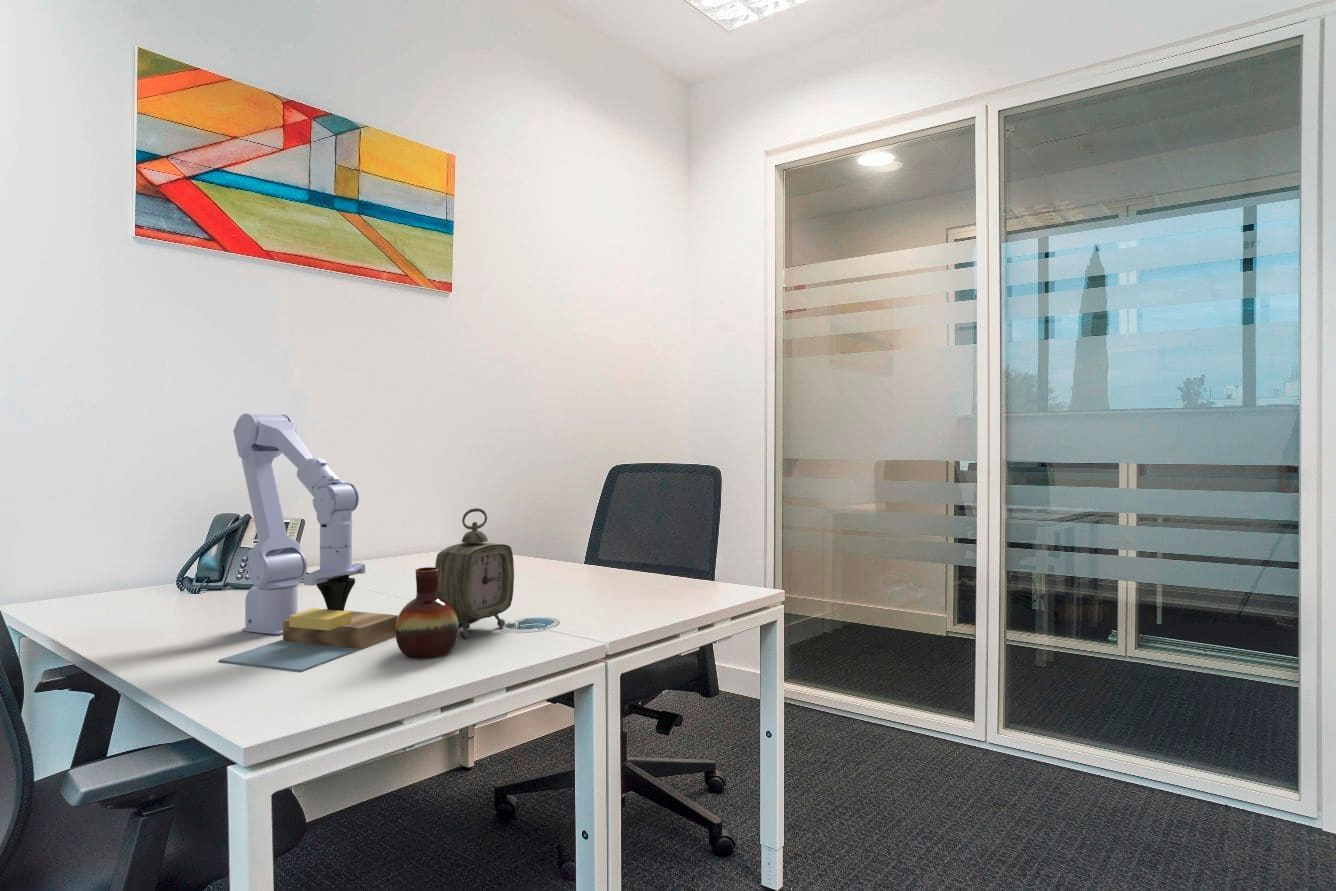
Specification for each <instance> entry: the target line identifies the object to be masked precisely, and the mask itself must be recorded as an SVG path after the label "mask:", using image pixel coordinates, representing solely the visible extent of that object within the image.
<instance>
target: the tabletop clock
mask: <svg viewBox="0 0 1336 891" xmlns="http://www.w3.org/2000/svg"><path fill="white" fill-rule="evenodd" d="M474 512H475V513H477V512H479V513H482V515H483V516H484V521H483V522H482V523H480V524H478V522H476V521H474V522H472V523H471V526H470V525H468V524H466V523H465V520H466V517H467V516H468V515H469V514H471V513H474ZM487 520H488V515H487V512H485V510H484V509H481V508H476V507H475V508H471V509H468V510H467V511H466V512H465V513H464V514H463V516H462V520H461V523H462V526H463V527H464V528H465V529H466V530H469V531H467V532H466V533H465V534H464V535H463V536H462V538H461V543H457V544H453V545H449V546H448V547H446V548H444V549H442V550H441V551H439V552H438V553H437V555H436V559H435V563H434V564H435V566H434V567H435V568H439V578H438V596H439V597H440V598H442V599H444V600H445V601H447V602H448V603H449V604H450V605H451V606H452V607H453V609H454V610H455V612H456V614H457V617H461V619H462V622H463V624H462V626H461V629H462V630H461V631H460V637H461V638H462V639H467V638H468V637H469V635H470V632H469V631H468V630H470V627H471V626H470V623H468V621H469V619H477V620H481V619H482V620H483V619H487V618H491V617H494V618H495V619H496V620H497V622H496V625H497V626H498V627H500V628H502V627H503V628H504V627H505V624H506V620H505V619H502V618H500V617H499V616H500V615H499V614H502V613H504V612H505V611H507V610H508V609H510V607H511V605H512V602H513V596H514V588H515V587H514V586H515V584H514V583H515V569H514V568H515V567H514V566H515V565H514V555H513V550H512V547H511V546H510V545H507V544H502V543H494V542H493V543H491V542H489V539H488V537H487V536H486V534H485V533H484V532H483V531H482V530H479V529H481V528H483V527H484V526H485V525H486V523H487Z"/></svg>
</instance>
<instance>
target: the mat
mask: <svg viewBox="0 0 1336 891" xmlns="http://www.w3.org/2000/svg"><path fill="white" fill-rule="evenodd" d="M359 651H360V650H359V649H357V648H347V647H338V646H329V645H320V644H310V643H301V642H292V641H283V639H282V640H281V639H280V640H277V641H274V642H270V643H269V644H265V645H261V646H258V647H255V648H252V649H248V650H245V651H243V652H239V653H236V654H233V655H230V656H226V657H224V658H220V659H218V662H220V663H226V662H227V664H237V665H244V666H252V667H259V668H269V669H277V670H285V671H292V672H294V671H295V672H300V673H301V672H305V671H307V670H310V669H312V668H315V667H318V666H321V665H324V664H327V663H329V662H332V661H334V660H337V659H339V658H341V657H344V656H348V655H350V654H352V653H356V652H359Z"/></svg>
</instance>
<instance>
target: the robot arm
mask: <svg viewBox="0 0 1336 891" xmlns="http://www.w3.org/2000/svg"><path fill="white" fill-rule="evenodd" d="M297 427H298V426H297V424H296V423H295V421H293V418H291V416H289V415H288V414H277V415H276V414H251V413H243V414H241V415H240V416H239V417H238V419H237V421H236V424H235V426H234V428H233V430H232V432H233V436H234V441H235V445H236V450H237V455H238V457H239V458H241V463H242V464H241V465H242V469H243V474H244V477H245V482H246V489H247V491H248V492H247V493H248V497H249V502H250V508H251V511H252V516H253V520H254V521H253V522H254V526H255V531H256V535H257V536H256V537H257V542H256V544H254V545H253V547H252V548H250V550H248V551H249V552H247V558H248V566H247V575H248V578H249V580H250V582H251V584H253V586H252V587H250V589H249V590H248V591H247V594H246V596H245V601H244V602H245V603H244V605H245V607H244V609H245V613H244V614H245V616H244V618H245V620H244V621H245V622H244V624H245V626H244V627H243V628H241V631H242V632H250V633H251V632H252V633H259V634H268V635H283V620H286V619H289V616H291V615H294V614H297V613H299V611H298V607H299V606H298V604H299V603H298V601H299V600H298V599H299V598H298V597H299V595H298V594H299V593H298V588H299V587H298V586H299V584H302V580H303V586H311V587H312V586H316V587H317V589H318V590H319V591H320V593H321V596H322V598H323V600H324V602H325V605H326V609H328V610H338V611H344V610H345V607H346V603H347V600H348V597H349V595H350V593H351V591H352V588H353V587H354V586H355V584H356V578H355V577H350V576H355V575H361V574H362V575H363V574H366V563H362V562H360V563H359V562H357V563H356V562H355V563H353V561H352V560H353V512H354V511H355V510H356V509H357V508H358V506H359V501H360V499H359V498H360V496H359V492H358V490H357V487H355V485H354V484H353V483H351V482H345V481H344V480H341V479H340V478H339V477H338V475H336V473H335V472H334V471H333V470H332V469H331V467H329V465H328V463H327V461H326V460H325V459H324V458H323V459H322V458H320V457H313V456H312V454H311V452H310V451H309V450H308V448H307V447H306V446H305V444H304V442H303V441H302V439H300V437H299V435H298V434H297V432H298V430H297V429H298V428H297ZM282 454H283V456H284V457H286V458H287V459H288V461H290V462H291V464H293V465H294V467H295V468H296V469H297V471H296V478H298V480H299V481H300V483H301V484H302V485H303V486H304V488H306V489H307V490H308V492H309V494H311V496H312V497H313V499H312V506H313V509H314V510H315V512H316V521H317V523H318V524H319V569H316V570H315V571H312V572H309V573H307V571H308V562H307V561H308V560H307V558H306V556H305V555H304V553H303V550H302V549H301V545H300V544H301V543H299V542H298V541H297V540H296V539H294V538H293V537H290V535H288V533H287V528H286V524H285V520H284V514H283V510H282V506H281V505H282V504H281V502H280V496H279V491H278V487H277V483H276V479H275V473H274V468H273V465H272V463H273V462H274V460H275V459H276V458H278V457H279V456H281V455H282Z"/></svg>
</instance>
